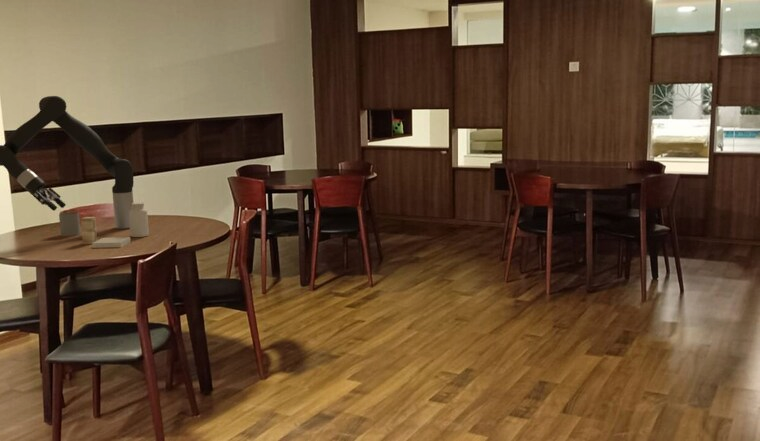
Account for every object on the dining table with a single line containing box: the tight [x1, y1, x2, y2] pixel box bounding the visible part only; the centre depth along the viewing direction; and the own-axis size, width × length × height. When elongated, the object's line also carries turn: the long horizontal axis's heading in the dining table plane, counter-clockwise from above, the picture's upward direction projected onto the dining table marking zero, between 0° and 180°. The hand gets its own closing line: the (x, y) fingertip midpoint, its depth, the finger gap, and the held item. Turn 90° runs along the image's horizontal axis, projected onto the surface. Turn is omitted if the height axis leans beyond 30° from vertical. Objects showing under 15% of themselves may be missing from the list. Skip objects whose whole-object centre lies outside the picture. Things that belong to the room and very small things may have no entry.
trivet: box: [92, 236, 132, 249], centre depth 323 cm, size 12×12×2 cm
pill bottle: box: [129, 202, 150, 238], centre depth 341 cm, size 8×8×15 cm
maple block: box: [80, 216, 98, 245], centre depth 328 cm, size 4×4×11 cm
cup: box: [58, 211, 82, 237], centre depth 350 cm, size 8×8×10 cm
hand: (60, 207), depth 327 cm, fingers open, 8 cm apart
